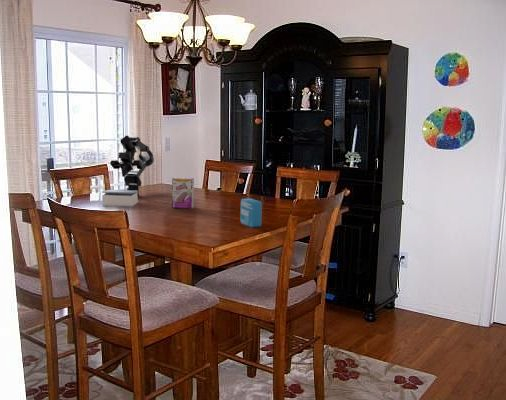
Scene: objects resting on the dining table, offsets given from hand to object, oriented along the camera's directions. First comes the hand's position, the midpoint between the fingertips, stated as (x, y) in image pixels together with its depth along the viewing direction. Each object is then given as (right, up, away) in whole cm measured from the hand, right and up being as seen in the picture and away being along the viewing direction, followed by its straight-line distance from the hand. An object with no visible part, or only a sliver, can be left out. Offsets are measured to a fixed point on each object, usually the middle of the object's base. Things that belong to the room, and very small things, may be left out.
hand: (123, 176), depth 309 cm
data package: (+75, -26, -60) cm, 100 cm away
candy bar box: (+38, -18, -20) cm, 46 cm away
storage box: (+2, -16, -14) cm, 21 cm away
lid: (+2, -9, -15) cm, 18 cm away
